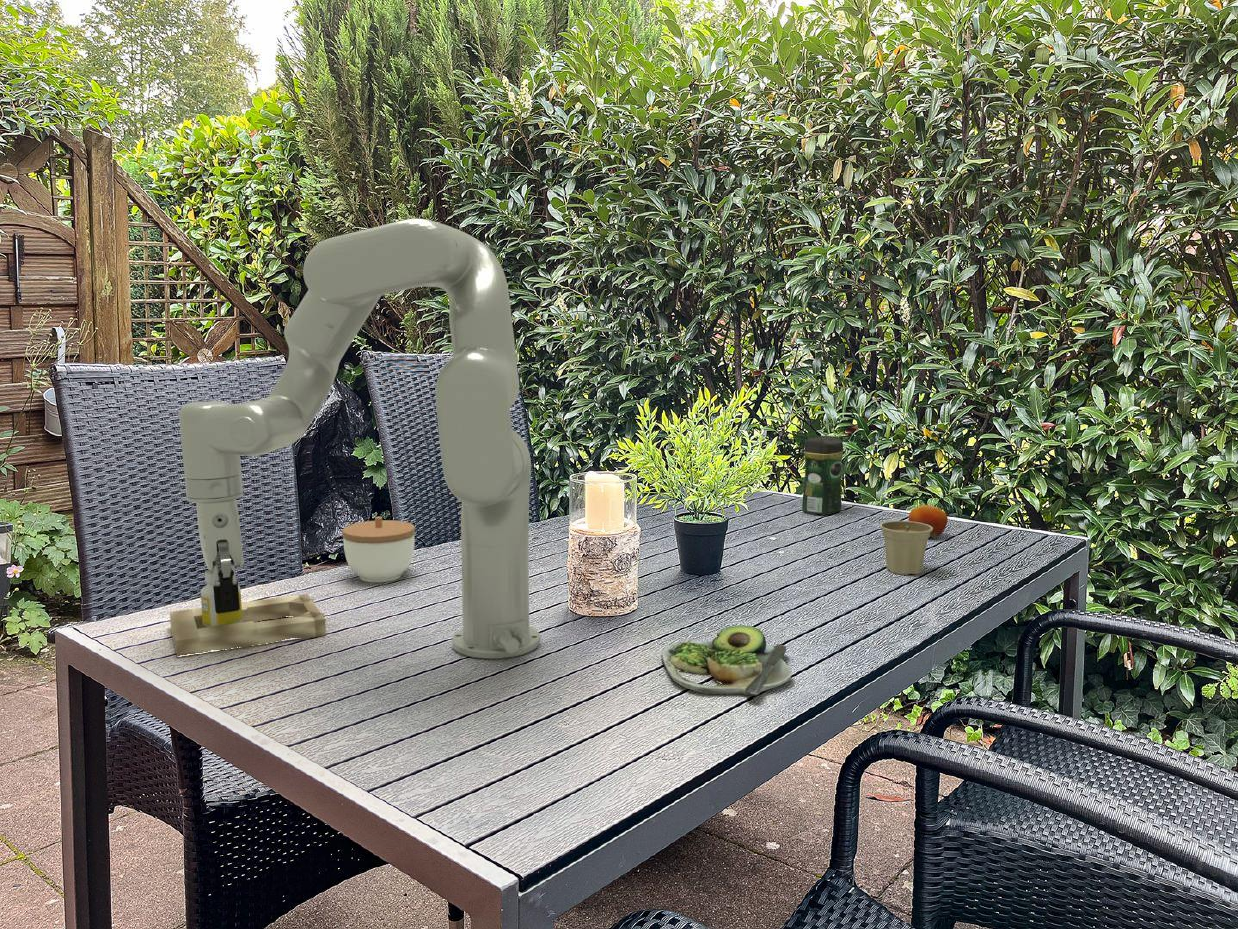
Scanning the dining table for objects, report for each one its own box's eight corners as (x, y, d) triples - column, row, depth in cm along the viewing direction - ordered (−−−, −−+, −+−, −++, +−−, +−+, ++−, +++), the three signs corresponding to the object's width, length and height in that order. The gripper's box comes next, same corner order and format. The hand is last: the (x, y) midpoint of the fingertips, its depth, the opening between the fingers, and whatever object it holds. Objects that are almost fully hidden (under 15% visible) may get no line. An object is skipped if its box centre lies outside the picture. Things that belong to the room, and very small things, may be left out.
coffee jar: (818, 506, 234) (821, 432, 231) (846, 511, 228) (849, 435, 225) (795, 512, 227) (798, 436, 224) (823, 517, 221) (827, 439, 218)
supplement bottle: (249, 630, 141) (246, 566, 139) (231, 642, 136) (227, 576, 134) (215, 628, 141) (211, 565, 140) (196, 640, 136) (191, 575, 134)
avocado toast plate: (817, 705, 116) (818, 670, 116) (674, 709, 115) (675, 673, 114) (779, 650, 135) (780, 619, 135) (656, 652, 134) (657, 621, 133)
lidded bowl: (430, 574, 171) (429, 515, 170) (380, 591, 161) (378, 528, 159) (380, 564, 178) (378, 507, 176) (329, 580, 167) (326, 519, 165)
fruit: (907, 534, 199) (909, 499, 202) (906, 545, 206) (908, 511, 209) (948, 537, 196) (949, 501, 199) (945, 548, 203) (947, 514, 206)
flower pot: (878, 576, 173) (880, 530, 171) (876, 562, 182) (879, 519, 180) (931, 579, 170) (934, 533, 169) (927, 566, 179) (930, 522, 178)
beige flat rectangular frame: (310, 608, 151) (309, 593, 151) (328, 635, 139) (327, 618, 138) (170, 627, 141) (169, 611, 141) (177, 658, 129) (175, 640, 129)
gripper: (250, 495, 129) (259, 614, 132) (235, 476, 144) (243, 584, 147) (190, 500, 126) (201, 623, 128) (181, 481, 141) (191, 591, 143)
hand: (224, 602), depth 138 cm, fingers open, 9 cm apart
